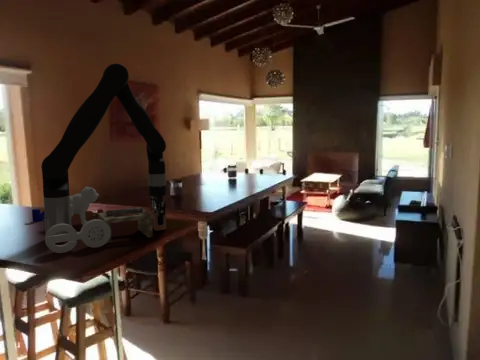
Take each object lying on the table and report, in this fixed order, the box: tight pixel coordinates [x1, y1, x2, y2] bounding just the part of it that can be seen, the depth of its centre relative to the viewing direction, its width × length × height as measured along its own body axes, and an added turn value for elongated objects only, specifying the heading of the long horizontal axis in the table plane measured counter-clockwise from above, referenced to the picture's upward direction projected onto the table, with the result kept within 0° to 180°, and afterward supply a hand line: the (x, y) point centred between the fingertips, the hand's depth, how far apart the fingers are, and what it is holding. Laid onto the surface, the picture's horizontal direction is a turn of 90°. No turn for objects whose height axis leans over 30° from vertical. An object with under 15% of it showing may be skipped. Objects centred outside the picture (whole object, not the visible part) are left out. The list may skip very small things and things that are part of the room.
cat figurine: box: [43, 186, 101, 227], centre depth 182 cm, size 25×10×17 cm, turn 129°
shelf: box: [97, 206, 154, 244], centre depth 164 cm, size 18×14×11 cm
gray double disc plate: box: [44, 218, 112, 254], centre depth 146 cm, size 22×2×10 cm, turn 123°
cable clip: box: [31, 208, 45, 223], centre depth 196 cm, size 12×4×6 cm, turn 171°
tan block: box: [150, 211, 167, 232], centre depth 175 cm, size 5×6×7 cm
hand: (158, 223), depth 175 cm, fingers closed on tan block, 5 cm apart
